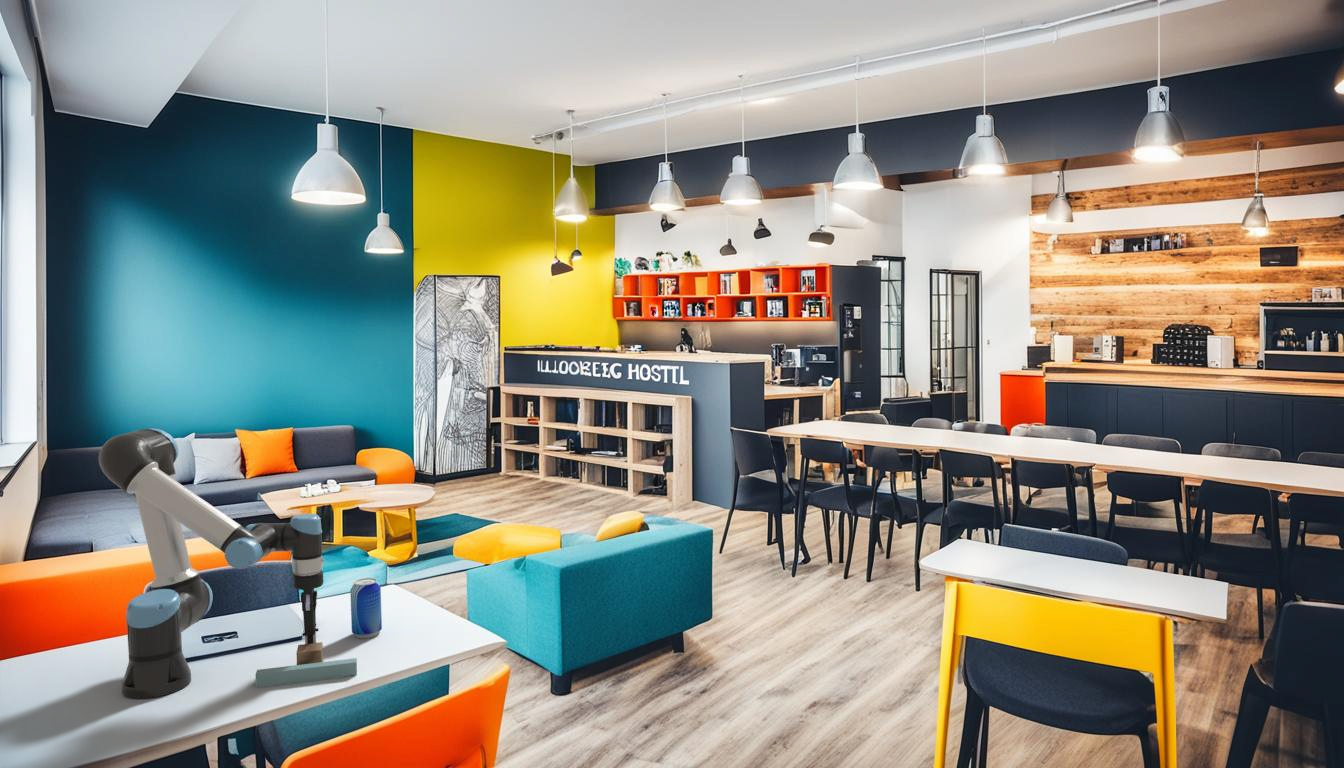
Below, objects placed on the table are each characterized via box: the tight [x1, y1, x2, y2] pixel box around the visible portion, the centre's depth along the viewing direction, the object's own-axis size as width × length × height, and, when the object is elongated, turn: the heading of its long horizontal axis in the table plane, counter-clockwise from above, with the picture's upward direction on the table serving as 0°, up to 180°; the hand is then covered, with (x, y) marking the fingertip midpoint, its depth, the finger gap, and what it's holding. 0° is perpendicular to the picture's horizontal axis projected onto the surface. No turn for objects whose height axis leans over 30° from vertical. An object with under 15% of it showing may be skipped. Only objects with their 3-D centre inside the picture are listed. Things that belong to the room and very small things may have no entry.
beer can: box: [350, 577, 383, 639], centre depth 258 cm, size 8×8×16 cm
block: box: [295, 641, 324, 665], centre depth 232 cm, size 6×6×6 cm
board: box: [255, 657, 358, 688], centre depth 226 cm, size 24×3×4 cm, turn 108°
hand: (311, 657), depth 238 cm, fingers closed
